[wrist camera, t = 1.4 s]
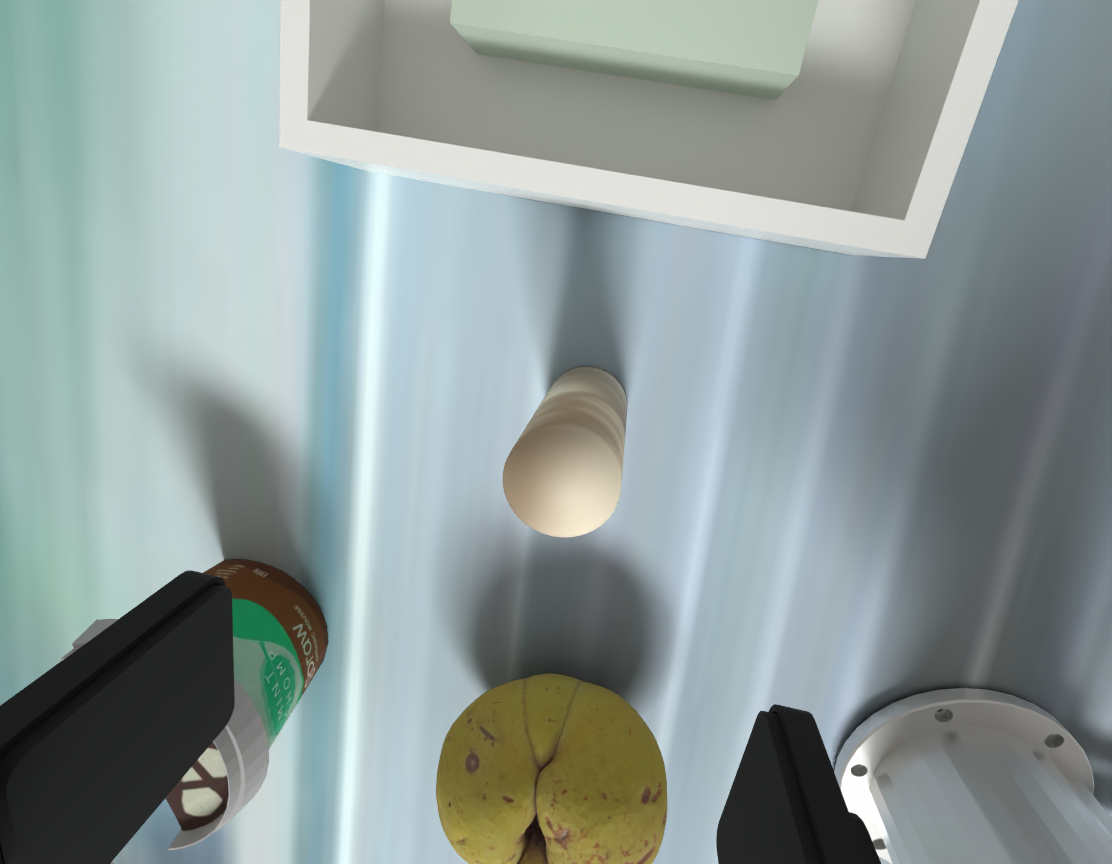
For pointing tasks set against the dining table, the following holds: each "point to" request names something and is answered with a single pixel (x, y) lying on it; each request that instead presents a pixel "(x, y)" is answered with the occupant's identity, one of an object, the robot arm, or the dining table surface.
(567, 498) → the peg
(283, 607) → the food container
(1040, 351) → the dining table surface
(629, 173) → the box
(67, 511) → the dining table surface
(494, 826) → the fruit
